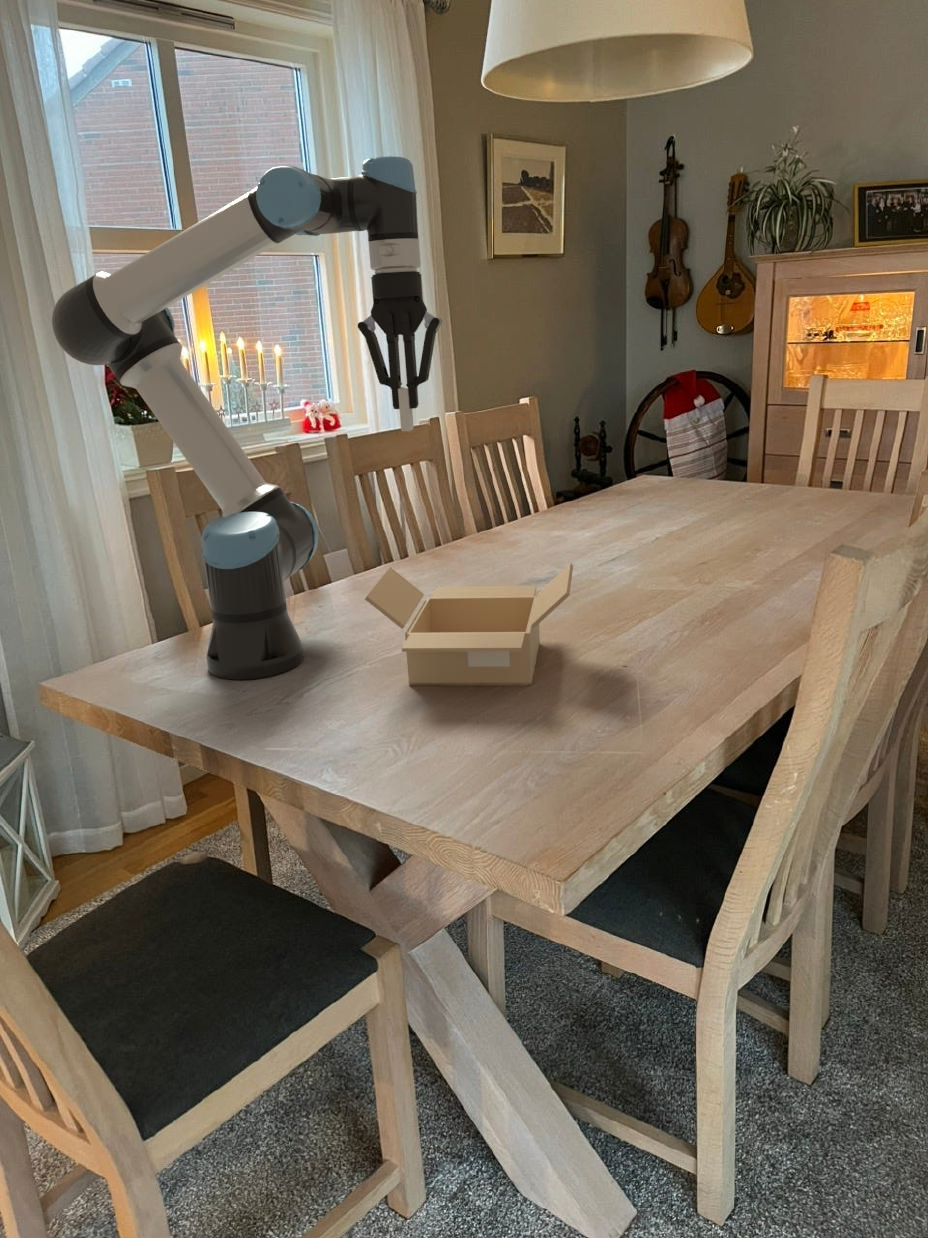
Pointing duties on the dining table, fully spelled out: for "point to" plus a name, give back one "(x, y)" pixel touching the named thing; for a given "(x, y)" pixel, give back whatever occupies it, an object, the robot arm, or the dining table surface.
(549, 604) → the flap
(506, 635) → the carton
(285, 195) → the robot arm
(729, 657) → the dining table surface
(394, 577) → the flap
